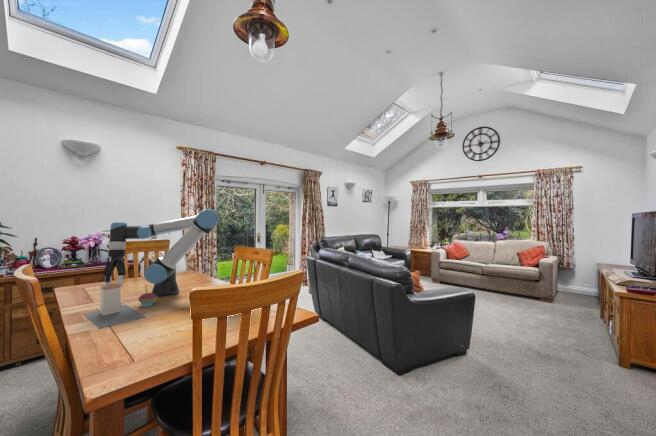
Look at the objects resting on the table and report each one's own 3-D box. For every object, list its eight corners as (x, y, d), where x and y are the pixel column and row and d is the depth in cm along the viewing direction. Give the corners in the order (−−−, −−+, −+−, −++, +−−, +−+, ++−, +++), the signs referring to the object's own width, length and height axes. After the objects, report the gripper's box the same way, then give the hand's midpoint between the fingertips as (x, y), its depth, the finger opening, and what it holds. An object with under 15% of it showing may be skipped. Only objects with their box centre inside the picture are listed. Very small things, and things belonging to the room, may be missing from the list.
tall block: (100, 313, 136) (100, 285, 136) (117, 309, 142) (117, 283, 142) (103, 315, 133) (103, 287, 133) (120, 311, 139) (120, 284, 139)
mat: (83, 314, 135) (83, 313, 135) (126, 305, 150) (126, 304, 150) (98, 329, 118) (98, 328, 118) (145, 317, 133) (145, 316, 133)
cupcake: (135, 307, 147) (135, 285, 147) (151, 302, 155) (151, 281, 155) (143, 309, 143) (144, 287, 143) (160, 305, 151) (160, 283, 151)
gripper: (119, 250, 164) (117, 286, 160) (97, 248, 140) (93, 290, 137) (134, 250, 166) (131, 285, 162) (113, 248, 142) (110, 289, 139)
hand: (114, 287), depth 149 cm, fingers open, 13 cm apart
